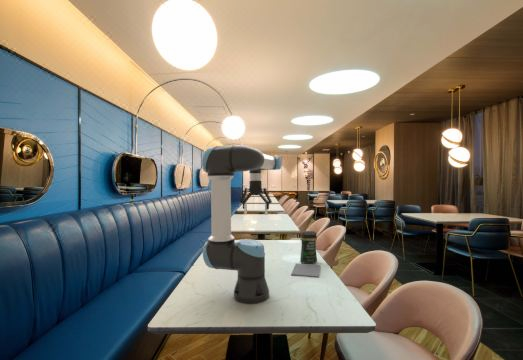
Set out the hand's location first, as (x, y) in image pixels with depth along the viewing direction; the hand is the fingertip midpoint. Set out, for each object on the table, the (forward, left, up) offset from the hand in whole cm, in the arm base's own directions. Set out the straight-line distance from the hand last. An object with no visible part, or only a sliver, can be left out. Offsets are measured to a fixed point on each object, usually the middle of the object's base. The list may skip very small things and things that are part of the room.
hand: (255, 214), depth 165 cm
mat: (-13, -32, -28) cm, 44 cm away
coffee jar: (+2, -32, -28) cm, 43 cm away
